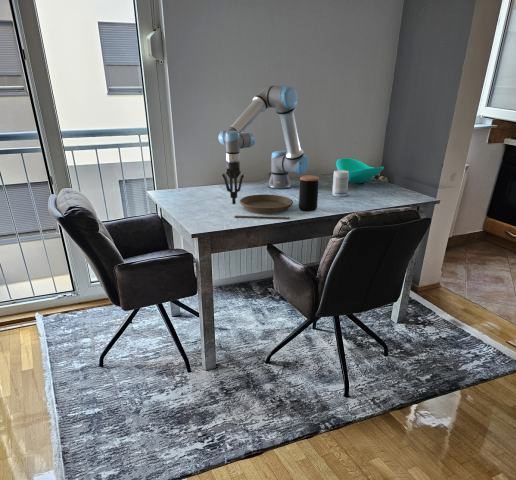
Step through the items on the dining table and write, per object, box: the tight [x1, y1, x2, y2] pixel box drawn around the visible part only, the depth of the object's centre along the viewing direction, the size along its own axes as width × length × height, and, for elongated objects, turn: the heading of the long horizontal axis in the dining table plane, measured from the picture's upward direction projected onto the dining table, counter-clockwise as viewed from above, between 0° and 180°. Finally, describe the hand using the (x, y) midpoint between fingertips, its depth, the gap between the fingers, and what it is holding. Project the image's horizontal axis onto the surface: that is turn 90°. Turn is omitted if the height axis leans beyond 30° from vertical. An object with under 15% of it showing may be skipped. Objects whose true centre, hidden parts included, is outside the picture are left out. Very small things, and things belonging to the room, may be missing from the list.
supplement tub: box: [331, 169, 349, 198], centre depth 298 cm, size 10×10×15 cm
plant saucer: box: [239, 193, 294, 215], centre depth 274 cm, size 31×31×5 cm
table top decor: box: [335, 157, 384, 184], centre depth 331 cm, size 40×28×13 cm
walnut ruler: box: [234, 215, 290, 220], centre depth 258 cm, size 30×2×1 cm, turn 84°
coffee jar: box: [298, 174, 320, 213], centre depth 269 cm, size 11×11×18 cm
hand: (234, 203), depth 276 cm, fingers closed
